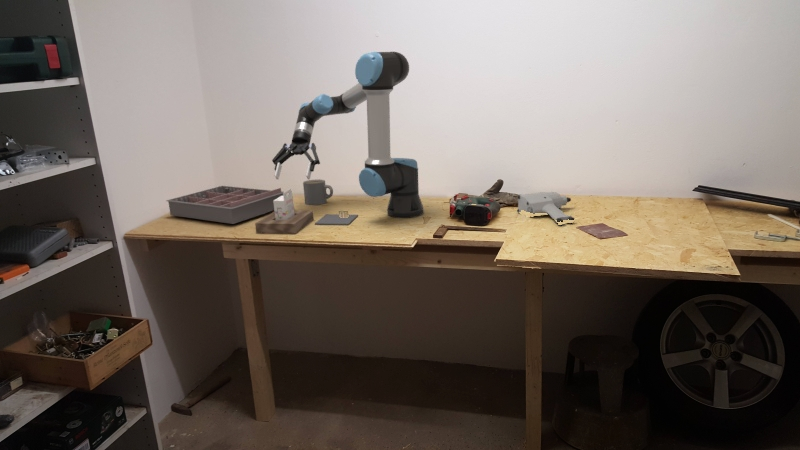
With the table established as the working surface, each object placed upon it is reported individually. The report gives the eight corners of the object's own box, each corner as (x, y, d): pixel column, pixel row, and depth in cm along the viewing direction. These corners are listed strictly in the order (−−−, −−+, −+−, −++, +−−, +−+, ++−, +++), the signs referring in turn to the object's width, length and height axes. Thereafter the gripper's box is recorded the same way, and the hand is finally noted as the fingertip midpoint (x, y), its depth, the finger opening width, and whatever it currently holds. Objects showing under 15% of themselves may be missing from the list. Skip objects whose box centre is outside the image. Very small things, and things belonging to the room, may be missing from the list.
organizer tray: (224, 202, 282) (221, 181, 279) (287, 209, 262) (285, 187, 259) (168, 218, 256) (164, 196, 253) (233, 228, 235) (230, 203, 233)
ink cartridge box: (284, 223, 238) (280, 188, 234) (295, 223, 237) (292, 188, 233) (275, 229, 230) (271, 192, 226) (287, 229, 229) (284, 192, 225)
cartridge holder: (313, 220, 241) (312, 210, 240) (295, 234, 222) (294, 223, 221) (277, 219, 244) (276, 210, 243) (256, 233, 225) (255, 223, 224)
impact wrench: (604, 213, 221) (565, 186, 241) (553, 221, 214) (517, 193, 234) (599, 232, 225) (562, 203, 245) (549, 241, 217) (514, 211, 238)
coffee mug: (301, 204, 268) (298, 183, 265) (312, 199, 277) (310, 179, 274) (326, 206, 263) (325, 184, 260) (337, 201, 272) (335, 179, 269)
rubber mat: (358, 216, 244) (358, 214, 244) (348, 225, 231) (348, 223, 230) (326, 215, 247) (326, 214, 247) (314, 224, 234) (314, 223, 233)
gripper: (332, 140, 249) (323, 182, 239) (278, 141, 255) (267, 182, 245) (327, 129, 243) (318, 172, 233) (271, 130, 248) (260, 172, 238)
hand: (292, 177), depth 239 cm, fingers open, 13 cm apart
